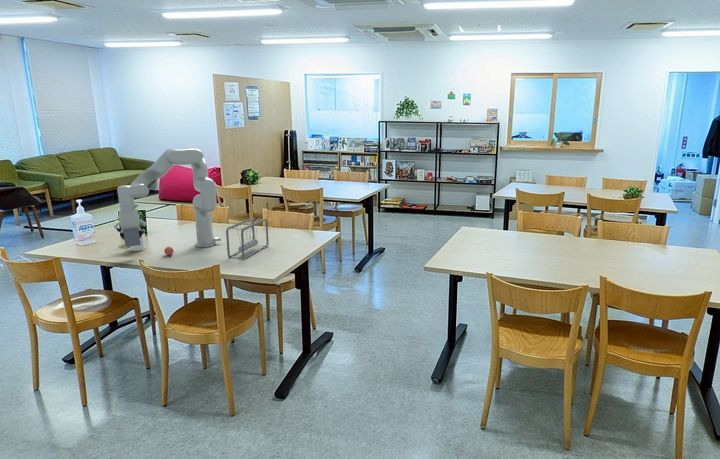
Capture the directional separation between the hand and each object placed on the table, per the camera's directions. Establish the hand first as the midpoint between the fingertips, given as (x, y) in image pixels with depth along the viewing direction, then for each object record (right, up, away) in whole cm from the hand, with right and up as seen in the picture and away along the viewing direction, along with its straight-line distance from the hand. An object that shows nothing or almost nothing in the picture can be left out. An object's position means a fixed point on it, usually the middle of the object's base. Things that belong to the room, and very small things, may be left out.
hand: (132, 238), depth 279 cm
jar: (-5, -7, +20) cm, 21 cm away
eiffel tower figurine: (-14, -5, +29) cm, 32 cm away
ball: (+18, -7, +8) cm, 21 cm away
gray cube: (0, -3, +1) cm, 4 cm away
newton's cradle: (+62, -9, +15) cm, 65 cm away
